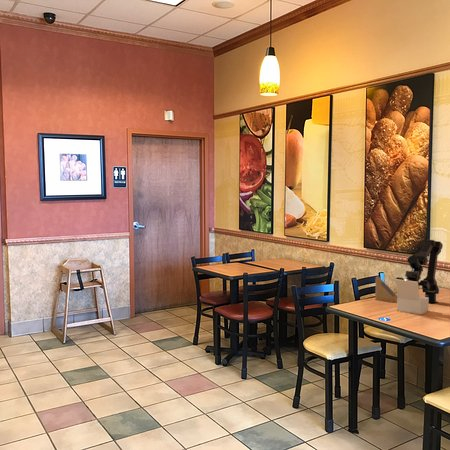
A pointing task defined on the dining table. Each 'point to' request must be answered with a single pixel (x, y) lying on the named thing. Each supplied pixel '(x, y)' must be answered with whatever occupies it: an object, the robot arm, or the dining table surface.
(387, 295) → the sandwich container
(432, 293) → the robot arm
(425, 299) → the carton
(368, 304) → the dining table surface
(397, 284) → the carton flap
